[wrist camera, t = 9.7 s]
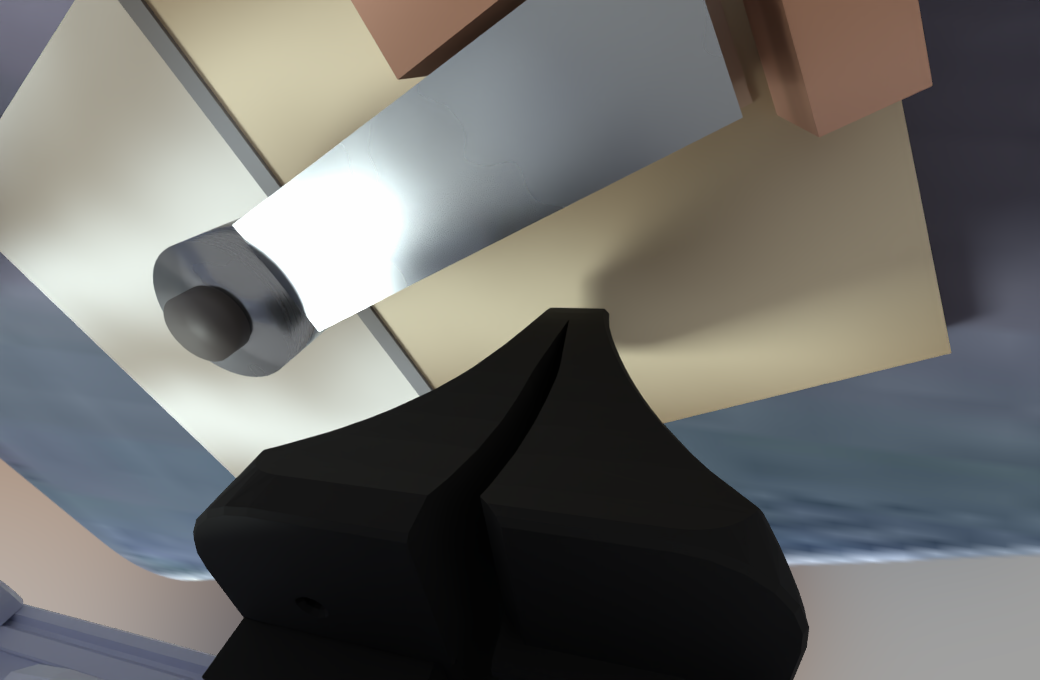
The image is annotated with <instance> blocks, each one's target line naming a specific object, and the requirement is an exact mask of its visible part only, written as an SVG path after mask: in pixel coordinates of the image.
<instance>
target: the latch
mask: <svg viewBox="0 0 1040 680" xmlns="http://www.w3.org/2000/svg"><path fill="white" fill-rule="evenodd" d="M741 118H743V116H742V113H741V110H740V107H739V104H738V101H737V98H736V95H735V92H734V89H733V85H732V82H731V79H730V76H729V73H728V70H727V67H726V64H725V61H724V58H723V55H722V52H721V49H720V46H719V43H718V40H717V37H716V33H715V30H714V27H713V24H712V21H711V18H710V15H709V12H708V9H707V6H706V3H705V0H526V1H525V2H524V3H522V4H521V5H520V6H518V7H517V8H516V9H515V10H513V11H512V12H511V13H509V14H508V15H507V16H505V17H504V18H503V19H501V20H500V21H499V22H497V23H496V24H495V25H494V26H492V27H491V28H490V29H488V30H487V31H486V32H484V33H483V34H482V35H480V36H479V37H478V38H477V39H475V40H474V41H473V42H471V43H470V44H469V45H467V46H466V47H465V48H463V49H462V50H461V51H460V52H458V53H457V54H456V55H454V56H453V57H452V58H450V59H449V60H448V61H446V62H445V63H444V64H442V65H441V66H440V67H439V68H437V69H436V70H435V71H433V72H432V73H431V74H429V75H428V76H427V77H425V78H424V79H423V80H422V81H420V82H419V83H418V84H416V85H415V86H414V87H412V88H411V89H410V90H408V91H407V92H406V93H405V94H403V95H402V96H401V97H399V98H398V99H397V100H395V101H394V102H393V103H391V104H390V105H389V106H388V107H386V108H385V109H384V110H382V111H381V112H380V113H378V114H377V115H376V116H374V117H373V118H372V119H370V120H369V121H368V122H367V123H365V124H364V125H363V126H361V127H360V128H359V129H357V130H356V131H355V132H353V133H352V134H351V135H350V136H348V137H347V138H346V139H344V140H343V141H342V142H340V143H339V144H338V145H336V146H335V147H334V148H333V149H331V150H330V151H329V152H327V153H326V154H325V155H323V156H322V157H321V158H319V159H318V160H317V161H316V162H314V163H313V164H312V165H310V166H309V167H308V168H306V169H305V170H304V171H302V172H301V173H300V174H298V175H297V176H296V177H295V178H293V179H292V180H291V181H289V182H288V183H287V184H285V185H284V186H283V187H281V188H280V189H279V190H278V191H276V192H275V193H274V194H272V195H271V196H270V197H268V198H267V199H266V200H264V201H263V202H262V203H261V204H259V205H258V206H257V207H255V208H254V209H253V210H251V211H250V212H249V213H247V214H246V215H245V216H243V217H241V218H238V219H236V220H233V221H231V222H228V223H226V224H223V225H221V226H219V227H216V228H214V229H211V230H209V231H206V232H204V233H201V234H199V235H197V236H194V237H192V238H189V239H187V240H184V241H182V242H179V243H177V244H175V245H172V246H170V247H168V248H167V249H165V250H164V251H163V252H162V253H161V254H160V255H159V256H158V258H157V260H156V262H155V265H154V269H153V285H154V290H155V294H156V297H157V300H158V302H159V305H160V307H161V309H162V311H163V310H164V306H165V304H166V302H167V301H168V300H170V299H172V298H173V297H175V296H177V295H179V294H181V293H183V292H185V291H187V290H189V289H191V288H193V287H195V286H200V285H204V286H210V287H213V288H215V289H218V290H220V291H221V292H223V293H225V294H226V295H228V296H229V297H230V298H231V299H232V300H234V301H235V302H236V304H237V305H238V306H239V307H240V308H241V309H242V311H243V312H244V314H245V316H246V318H247V320H248V322H249V325H250V338H249V341H248V342H247V343H246V344H245V345H244V346H243V347H241V348H240V349H239V350H237V351H236V352H234V353H233V354H232V355H230V356H229V357H228V358H226V359H225V360H222V361H218V362H213V361H210V362H212V363H213V364H215V365H217V366H219V367H221V368H223V369H225V370H227V371H230V372H232V373H236V374H239V375H243V376H249V377H263V376H268V375H271V374H274V373H275V372H277V371H279V370H280V369H281V368H282V367H283V366H285V365H286V364H287V363H288V362H289V361H290V360H292V359H293V358H294V357H295V356H296V355H297V354H299V353H300V352H301V351H302V350H303V349H304V348H305V347H307V346H308V345H309V344H310V343H311V342H312V341H314V340H315V339H316V338H317V337H318V336H319V335H321V334H322V333H323V332H324V331H325V330H326V329H328V328H329V327H330V326H331V325H333V324H335V323H337V322H339V321H341V320H343V319H345V318H347V317H349V316H351V315H353V314H355V313H357V312H359V311H361V310H363V309H365V308H367V307H369V306H371V305H373V304H375V303H377V302H379V301H381V300H383V299H384V298H386V297H388V296H390V295H392V294H394V293H396V292H398V291H400V290H402V289H404V288H406V287H408V286H410V285H412V284H414V283H416V282H418V281H420V280H422V279H424V278H426V277H428V276H430V275H432V274H434V273H436V272H438V271H440V270H442V269H444V268H446V267H448V266H450V265H452V264H454V263H456V262H458V261H460V260H462V259H464V258H466V257H468V256H470V255H472V254H474V253H476V252H478V251H480V250H481V249H483V248H485V247H487V246H489V245H491V244H493V243H495V242H497V241H499V240H501V239H503V238H505V237H507V236H509V235H511V234H513V233H515V232H517V231H519V230H521V229H523V228H525V227H527V226H529V225H531V224H533V223H535V222H537V221H539V220H541V219H543V218H545V217H547V216H549V215H551V214H553V213H555V212H557V211H559V210H561V209H563V208H565V207H567V206H569V205H571V204H573V203H575V202H576V201H578V200H580V199H582V198H584V197H586V196H588V195H590V194H592V193H594V192H596V191H598V190H600V189H602V188H604V187H606V186H608V185H610V184H612V183H614V182H616V181H618V180H620V179H622V178H624V177H626V176H628V175H630V174H632V173H634V172H636V171H638V170H640V169H642V168H644V167H646V166H648V165H650V164H652V163H654V162H656V161H658V160H660V159H662V158H664V157H666V156H668V155H670V154H672V153H673V152H675V151H677V150H679V149H681V148H683V147H685V146H687V145H689V144H691V143H693V142H695V141H697V140H699V139H701V138H703V137H705V136H707V135H709V134H711V133H713V132H715V131H717V130H719V129H721V128H723V127H725V126H727V125H729V124H731V123H733V122H735V121H737V120H739V119H741Z"/></svg>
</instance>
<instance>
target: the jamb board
mask: <svg viewBox="0 0 1040 680" xmlns="http://www.w3.org/2000/svg"><path fill="white" fill-rule="evenodd" d="M525 1H526V0H75V1H74V3H73V4H72V6H71V8H70V9H69V11H68V12H67V14H66V15H65V17H64V19H63V20H62V22H61V23H60V25H59V27H58V28H57V30H56V31H55V33H54V34H53V36H52V38H51V39H50V41H49V42H48V44H47V46H46V47H45V49H44V50H43V52H42V53H41V55H40V57H39V58H38V60H37V61H36V63H35V65H34V66H33V68H32V69H31V71H30V72H29V74H28V76H27V77H26V79H25V80H24V82H23V84H22V85H21V87H20V88H19V90H18V91H17V93H16V95H15V96H14V98H13V99H12V101H11V103H10V104H9V106H8V107H7V109H6V110H5V112H4V114H3V115H2V117H1V118H0V252H1V253H2V254H3V255H4V256H5V257H6V258H7V259H9V260H10V261H11V262H12V263H13V264H14V265H15V266H16V267H17V268H18V269H19V270H20V271H21V272H22V273H23V274H24V275H25V276H26V277H27V278H28V279H29V280H30V281H31V282H32V283H34V284H35V285H36V286H37V287H38V288H39V289H40V290H41V291H42V292H43V293H44V294H45V295H46V296H47V297H48V298H49V299H50V300H51V301H52V302H53V303H54V304H55V305H56V306H58V307H59V308H60V309H61V310H62V311H63V312H64V313H65V314H66V315H67V316H68V317H69V318H70V319H71V320H72V321H73V322H74V323H75V324H76V325H77V326H78V327H79V328H80V329H82V330H83V331H84V332H85V333H86V334H87V335H88V336H89V337H90V338H91V339H92V340H93V341H94V342H95V343H96V344H97V345H98V346H99V347H100V348H101V349H102V350H103V351H104V352H105V353H107V354H108V355H109V356H110V357H111V358H112V359H113V360H114V361H115V362H116V363H117V364H118V365H119V366H120V367H121V368H122V369H123V370H124V371H125V372H126V373H127V374H128V375H129V376H131V377H132V378H133V379H134V380H135V381H136V382H137V383H138V384H139V385H140V386H141V387H142V388H143V389H144V390H145V391H146V392H147V393H148V394H149V395H150V396H151V397H152V398H153V399H154V400H156V401H157V402H158V403H159V404H160V405H161V406H162V407H163V408H164V409H165V410H166V411H167V412H168V413H169V414H170V415H171V416H172V417H173V418H174V419H175V420H176V421H177V422H178V423H180V424H181V425H182V426H183V427H184V428H185V429H186V430H187V431H188V432H189V433H190V434H191V435H192V436H193V437H194V438H195V439H196V440H197V441H198V442H199V443H200V444H201V445H202V446H203V447H205V448H206V449H207V450H208V451H209V452H210V453H211V454H212V455H213V456H214V457H215V458H216V459H217V460H218V461H219V462H220V463H221V464H222V465H223V466H224V467H225V468H226V469H227V470H229V471H230V472H231V473H232V474H233V475H234V476H235V477H236V478H237V477H238V476H239V475H240V474H241V473H242V472H243V471H244V469H245V468H246V467H247V466H248V465H249V464H250V463H251V462H252V461H253V460H254V459H255V458H256V457H257V456H258V455H259V454H260V453H261V452H262V451H263V450H265V449H269V448H273V447H277V446H280V445H284V444H288V443H291V442H295V441H298V440H302V439H305V438H309V437H312V436H316V435H320V434H323V433H327V432H330V431H333V430H336V429H339V428H342V427H345V426H348V425H351V424H354V423H356V422H359V421H362V420H365V419H368V418H370V417H373V416H375V415H378V414H381V413H383V412H386V411H388V410H391V409H393V408H395V407H397V406H400V405H402V404H404V403H406V402H408V401H410V400H413V399H415V398H417V397H419V396H421V395H423V394H426V393H428V392H430V391H432V390H434V389H436V388H438V387H440V386H441V385H443V384H445V383H447V382H449V381H450V380H452V379H454V378H456V377H457V376H459V375H461V374H462V373H464V372H466V371H467V370H469V369H470V368H472V367H474V366H475V365H477V364H478V363H479V362H481V361H482V360H484V359H485V358H486V357H488V356H489V355H491V354H492V353H493V352H495V351H496V350H498V349H499V348H500V347H502V346H503V345H505V344H506V343H507V342H508V341H510V340H511V339H512V338H513V337H515V336H516V335H517V334H518V333H520V332H521V331H522V330H523V329H524V328H526V327H527V326H528V325H529V324H530V323H532V322H533V321H534V320H535V319H536V318H538V317H539V316H540V315H541V314H542V313H544V312H545V311H546V310H548V309H549V308H603V309H605V310H606V311H607V312H608V313H609V327H610V331H611V335H612V338H613V341H614V344H615V346H616V348H617V351H618V353H619V356H620V358H621V360H622V362H623V364H624V366H625V368H626V370H627V372H628V374H629V375H630V377H631V379H632V381H633V382H634V384H635V386H636V387H637V389H638V390H639V392H640V394H641V395H642V396H643V398H644V399H645V401H646V402H647V403H648V405H649V406H650V408H651V409H652V410H653V411H654V413H655V414H656V415H657V416H658V418H659V419H660V420H661V422H662V423H666V422H671V421H675V420H679V419H683V418H687V417H691V416H695V415H699V414H703V413H707V412H712V411H716V410H720V409H724V408H728V407H732V406H736V405H740V404H744V403H749V402H753V401H757V400H761V399H765V398H769V397H773V396H777V395H781V394H785V393H790V392H794V391H798V390H802V389H806V388H810V387H814V386H818V385H822V384H826V383H831V382H835V381H839V380H843V379H847V378H851V377H855V376H859V375H863V374H867V373H872V372H876V371H880V370H884V369H888V368H892V367H896V366H900V365H904V364H908V363H913V362H917V361H921V360H925V359H929V358H933V357H937V356H941V355H945V354H950V353H951V349H950V344H949V339H948V333H947V328H946V323H945V318H944V313H943V308H942V303H941V298H940V293H939V288H938V283H937V278H936V273H935V268H934V262H933V257H932V252H931V247H930V242H929V237H928V232H927V227H926V222H925V217H924V212H923V207H922V202H921V197H920V192H919V186H918V181H917V176H916V171H915V166H914V161H913V156H912V151H911V146H910V141H909V136H908V131H907V126H906V121H905V115H904V110H903V105H902V99H905V98H907V97H909V96H911V95H913V94H916V93H918V92H920V91H922V90H924V89H927V88H929V87H931V86H933V84H932V78H931V72H930V67H929V61H928V55H927V49H926V43H925V37H924V31H923V25H922V20H921V14H920V8H919V2H918V0H705V3H706V6H707V9H708V12H709V15H710V18H711V21H712V24H713V27H714V30H715V33H716V37H717V40H718V43H719V46H720V49H721V52H722V55H723V58H724V61H725V64H726V67H727V70H728V73H729V76H730V79H731V82H732V85H733V89H734V92H735V95H736V98H737V101H738V104H739V107H740V110H741V113H742V116H743V118H741V119H739V120H737V121H735V122H733V123H731V124H729V125H727V126H725V127H723V128H721V129H719V130H717V131H715V132H713V133H711V134H709V135H707V136H705V137H703V138H701V139H699V140H697V141H695V142H693V143H691V144H689V145H687V146H685V147H683V148H681V149H679V150H677V151H675V152H673V153H672V154H670V155H668V156H666V157H664V158H662V159H660V160H658V161H656V162H654V163H652V164H650V165H648V166H646V167H644V168H642V169H640V170H638V171H636V172H634V173H632V174H630V175H628V176H626V177H624V178H622V179H620V180H618V181H616V182H614V183H612V184H610V185H608V186H606V187H604V188H602V189H600V190H598V191H596V192H594V193H592V194H590V195H588V196H586V197H584V198H582V199H580V200H578V201H576V202H575V203H573V204H571V205H569V206H567V207H565V208H563V209H561V210H559V211H557V212H555V213H553V214H551V215H549V216H547V217H545V218H543V219H541V220H539V221H537V222H535V223H533V224H531V225H529V226H527V227H525V228H523V229H521V230H519V231H517V232H515V233H513V234H511V235H509V236H507V237H505V238H503V239H501V240H499V241H497V242H495V243H493V244H491V245H489V246H487V247H485V248H483V249H481V250H480V251H478V252H476V253H474V254H472V255H470V256H468V257H466V258H464V259H462V260H460V261H458V262H456V263H454V264H452V265H450V266H448V267H446V268H444V269H442V270H440V271H438V272H436V273H434V274H432V275H430V276H428V277H426V278H424V279H422V280H420V281H418V282H416V283H414V284H412V285H410V286H408V287H406V288H404V289H402V290H400V291H398V292H396V293H394V294H392V295H390V296H388V297H386V298H384V299H383V300H381V301H379V302H377V303H375V304H373V305H371V306H369V307H367V308H365V309H363V310H361V311H359V312H357V313H355V314H353V315H351V316H349V317H347V318H345V319H343V320H341V321H339V322H337V323H335V324H333V325H331V326H330V327H329V328H328V329H326V330H325V331H324V332H323V333H322V334H321V335H319V336H318V337H317V338H316V339H315V340H314V341H312V342H311V343H310V344H309V345H308V346H307V347H305V348H304V349H303V350H302V351H301V352H300V353H299V354H297V355H296V356H295V357H294V358H293V359H292V360H290V361H289V362H288V363H287V364H286V365H285V366H283V367H282V368H281V369H280V370H279V371H277V372H275V373H274V374H271V375H268V376H263V377H249V376H243V375H239V374H236V373H232V372H230V371H227V370H225V369H223V368H221V367H219V366H217V365H215V364H213V363H212V362H210V361H213V362H218V361H222V360H225V359H226V358H228V357H229V356H230V355H232V354H233V353H234V352H236V351H237V350H239V349H240V348H241V347H243V346H244V345H245V344H246V343H247V342H248V341H249V338H250V325H249V322H248V320H247V318H246V316H245V314H244V312H243V311H242V309H241V308H240V307H239V306H238V305H237V304H236V302H235V301H234V300H232V299H231V298H230V297H229V296H228V295H226V294H225V293H223V292H221V291H220V290H218V289H215V288H213V287H210V286H204V285H200V286H195V287H193V288H191V289H189V290H187V291H185V292H183V293H181V294H179V295H177V296H175V297H173V298H172V299H170V300H168V301H167V302H166V304H165V306H164V310H163V311H162V309H161V307H160V305H159V302H158V300H157V297H156V294H155V290H154V285H153V269H154V265H155V262H156V260H157V258H158V256H159V255H160V254H161V253H162V252H163V251H164V250H165V249H167V248H168V247H170V246H172V245H175V244H177V243H179V242H182V241H184V240H187V239H189V238H192V237H194V236H197V235H199V234H201V233H204V232H206V231H209V230H211V229H214V228H216V227H219V226H221V225H223V224H226V223H228V222H231V221H233V220H236V219H238V218H241V217H243V216H245V215H246V214H247V213H249V212H250V211H251V210H253V209H254V208H255V207H257V206H258V205H259V204H261V203H262V202H263V201H264V200H266V199H267V198H268V197H270V196H271V195H272V194H274V193H275V192H276V191H278V190H279V189H280V188H281V187H283V186H284V185H285V184H287V183H288V182H289V181H291V180H292V179H293V178H295V177H296V176H297V175H298V174H300V173H301V172H302V171H304V170H305V169H306V168H308V167H309V166H310V165H312V164H313V163H314V162H316V161H317V160H318V159H319V158H321V157H322V156H323V155H325V154H326V153H327V152H329V151H330V150H331V149H333V148H334V147H335V146H336V145H338V144H339V143H340V142H342V141H343V140H344V139H346V138H347V137H348V136H350V135H351V134H352V133H353V132H355V131H356V130H357V129H359V128H360V127H361V126H363V125H364V124H365V123H367V122H368V121H369V120H370V119H372V118H373V117H374V116H376V115H377V114H378V113H380V112H381V111H382V110H384V109H385V108H386V107H388V106H389V105H390V104H391V103H393V102H394V101H395V100H397V99H398V98H399V97H401V96H402V95H403V94H405V93H406V92H407V91H408V90H410V89H411V88H412V87H414V86H415V85H416V84H418V83H419V82H420V81H422V80H423V79H424V78H425V77H427V76H428V75H429V74H431V73H432V72H433V71H435V70H436V69H437V68H439V67H440V66H441V65H442V64H444V63H445V62H446V61H448V60H449V59H450V58H452V57H453V56H454V55H456V54H457V53H458V52H460V51H461V50H462V49H463V48H465V47H466V46H467V45H469V44H470V43H471V42H473V41H474V40H475V39H477V38H478V37H479V36H480V35H482V34H483V33H484V32H486V31H487V30H488V29H490V28H491V27H492V26H494V25H495V24H496V23H497V22H499V21H500V20H501V19H503V18H504V17H505V16H507V15H508V14H509V13H511V12H512V11H513V10H515V9H516V8H517V7H518V6H520V5H521V4H522V3H524V2H525Z"/></svg>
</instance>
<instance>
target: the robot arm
mask: <svg viewBox="0 0 1040 680" xmlns="http://www.w3.org/2000/svg"><path fill="white" fill-rule="evenodd" d="M193 533H194V541H195V545H196V549H197V553H198V555H199V556H200V558H201V560H202V561H203V563H204V565H205V566H206V568H207V569H208V571H209V572H210V573H211V575H212V576H213V577H214V579H215V580H216V581H217V583H218V584H219V585H220V587H221V588H222V589H223V591H224V592H225V593H226V595H227V596H228V597H229V599H230V600H231V601H232V603H233V604H234V605H235V606H236V608H237V609H238V611H239V612H240V613H241V615H242V616H243V617H244V619H243V620H242V621H241V623H240V624H239V626H238V627H237V628H236V630H235V631H234V632H233V634H232V635H231V637H230V638H229V639H228V641H227V642H226V644H225V645H224V647H223V648H222V649H221V651H220V652H219V653H218V655H217V656H216V655H213V654H209V653H205V652H202V651H198V650H194V649H190V648H187V647H183V646H179V645H175V644H172V643H167V642H164V641H160V640H157V639H153V638H149V637H145V636H142V635H138V634H134V633H130V632H127V631H123V630H119V629H116V628H111V627H108V626H104V625H100V624H97V623H93V622H89V621H86V620H82V619H78V618H74V617H70V616H67V615H63V614H59V613H56V612H52V611H48V610H44V609H41V608H37V607H33V606H29V605H26V604H23V599H22V598H21V597H20V596H19V595H18V594H17V593H16V592H15V591H13V590H12V589H11V588H10V587H9V586H7V585H6V584H5V583H3V582H2V581H1V580H0V680H793V679H794V677H795V674H796V672H797V669H798V667H799V665H800V662H801V660H802V657H803V655H804V653H805V650H806V648H807V640H808V632H809V626H808V622H807V619H806V614H805V610H804V606H803V603H802V600H801V596H800V593H799V590H798V588H797V585H796V583H795V580H794V578H793V576H792V573H791V571H790V568H789V566H788V563H787V561H786V559H785V557H784V554H783V552H782V550H781V548H780V545H779V543H778V541H777V539H776V537H775V535H774V533H773V531H772V529H771V527H770V525H769V523H768V521H767V519H766V518H765V516H764V514H763V512H762V511H761V510H760V509H759V508H758V507H757V506H755V505H754V504H753V503H752V502H750V501H749V500H748V499H746V498H745V497H744V496H742V495H741V494H740V493H738V492H737V491H736V490H735V489H733V488H732V487H731V486H729V485H728V484H727V483H725V482H724V481H723V480H721V479H720V478H719V477H718V476H716V475H715V474H714V473H712V472H711V471H710V470H709V469H708V468H706V467H705V466H704V465H703V464H702V463H701V462H700V461H699V460H698V459H697V458H695V457H694V456H693V455H692V454H691V453H690V452H689V451H688V450H687V448H686V447H685V446H684V445H683V444H682V443H681V442H680V441H679V440H678V439H677V438H676V437H675V436H674V435H673V434H672V433H671V431H670V430H669V429H668V428H667V427H666V426H665V425H664V424H663V423H662V422H661V420H660V419H659V418H658V416H657V415H656V414H655V413H654V411H653V410H652V409H651V408H650V406H649V405H648V403H647V402H646V401H645V399H644V398H643V396H642V395H641V394H640V392H639V390H638V389H637V387H636V386H635V384H634V382H633V381H632V379H631V377H630V375H629V374H628V372H627V370H626V368H625V366H624V364H623V362H622V360H621V358H620V356H619V353H618V351H617V348H616V346H615V344H614V341H613V338H612V335H611V331H610V327H609V313H608V312H607V311H606V310H605V309H603V308H549V309H548V310H546V311H545V312H544V313H542V314H541V315H540V316H539V317H538V318H536V319H535V320H534V321H533V322H532V323H530V324H529V325H528V326H527V327H526V328H524V329H523V330H522V331H521V332H520V333H518V334H517V335H516V336H515V337H513V338H512V339H511V340H510V341H508V342H507V343H506V344H505V345H503V346H502V347H500V348H499V349H498V350H496V351H495V352H493V353H492V354H491V355H489V356H488V357H486V358H485V359H484V360H482V361H481V362H479V363H478V364H477V365H475V366H474V367H472V368H470V369H469V370H467V371H466V372H464V373H462V374H461V375H459V376H457V377H456V378H454V379H452V380H450V381H449V382H447V383H445V384H443V385H441V386H440V387H438V388H436V389H434V390H432V391H430V392H428V393H426V394H423V395H421V396H419V397H417V398H415V399H413V400H410V401H408V402H406V403H404V404H402V405H400V406H397V407H395V408H393V409H391V410H388V411H386V412H383V413H381V414H378V415H375V416H373V417H370V418H368V419H365V420H362V421H359V422H356V423H354V424H351V425H348V426H345V427H342V428H339V429H336V430H333V431H330V432H327V433H323V434H320V435H316V436H312V437H309V438H305V439H302V440H298V441H295V442H291V443H288V444H284V445H280V446H277V447H273V448H269V449H265V450H263V451H262V452H261V453H260V454H259V455H258V456H257V457H256V458H255V459H254V460H253V461H252V462H251V463H250V464H249V465H248V466H247V467H246V468H245V469H244V471H243V472H242V473H241V474H240V475H239V476H238V477H237V478H236V479H235V480H234V481H233V482H232V483H231V484H230V485H229V486H228V487H227V488H226V489H225V490H224V491H223V492H222V493H221V494H220V495H219V496H218V497H217V498H216V500H215V501H214V502H213V503H212V504H211V505H210V506H209V507H208V508H207V509H206V510H205V511H204V512H203V513H202V514H201V515H200V516H199V517H198V518H197V519H196V523H195V527H194V531H193Z"/></svg>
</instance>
